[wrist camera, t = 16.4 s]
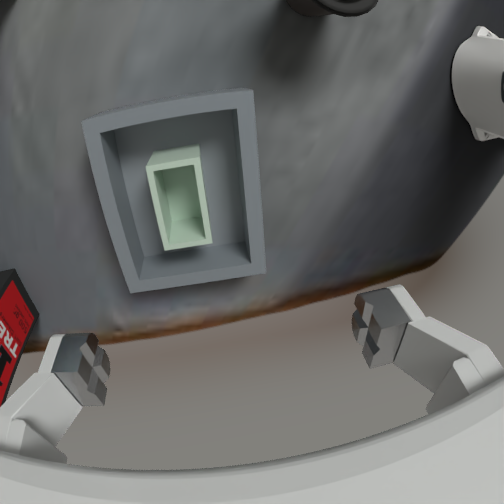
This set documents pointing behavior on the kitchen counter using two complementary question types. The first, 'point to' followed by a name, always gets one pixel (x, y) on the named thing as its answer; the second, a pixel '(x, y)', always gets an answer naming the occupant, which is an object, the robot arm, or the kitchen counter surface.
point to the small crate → (180, 196)
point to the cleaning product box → (13, 326)
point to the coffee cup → (332, 7)
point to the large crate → (215, 176)
